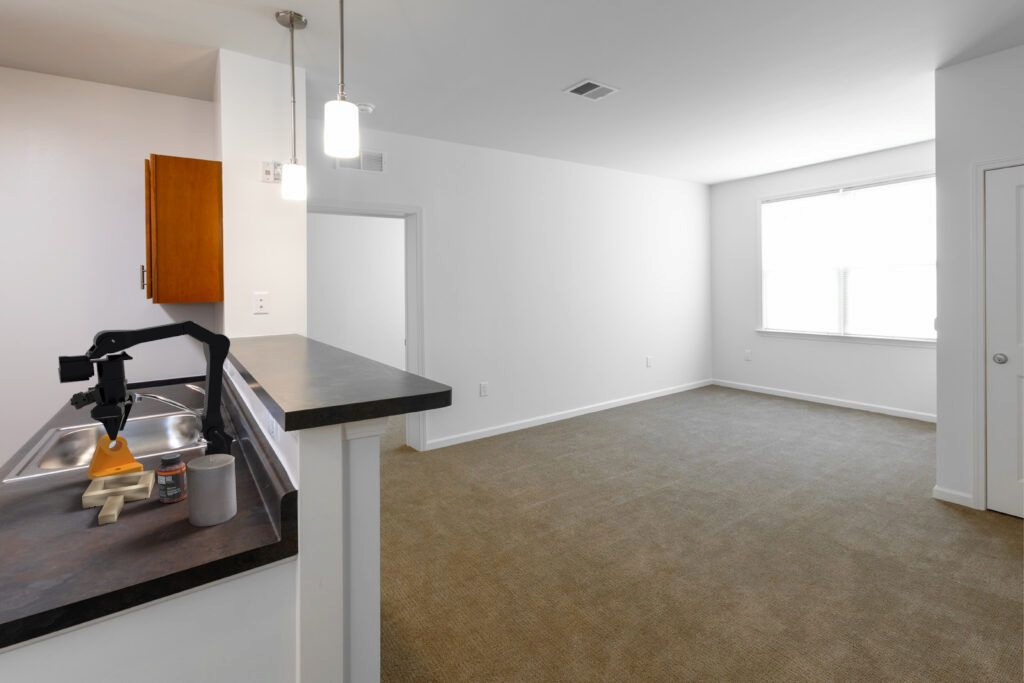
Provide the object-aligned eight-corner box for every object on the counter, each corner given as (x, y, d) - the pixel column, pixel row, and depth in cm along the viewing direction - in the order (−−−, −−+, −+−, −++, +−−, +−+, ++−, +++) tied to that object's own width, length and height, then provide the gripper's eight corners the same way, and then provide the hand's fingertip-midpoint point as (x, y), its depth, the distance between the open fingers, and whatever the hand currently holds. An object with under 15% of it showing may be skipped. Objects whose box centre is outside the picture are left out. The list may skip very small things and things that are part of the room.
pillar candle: (184, 516, 118) (180, 454, 116) (230, 503, 125) (227, 445, 123) (195, 531, 111) (191, 466, 109) (243, 517, 118) (240, 456, 116)
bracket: (98, 486, 134) (94, 443, 133) (88, 480, 138) (84, 438, 137) (144, 474, 143) (141, 433, 142) (134, 469, 147) (131, 429, 146)
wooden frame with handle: (155, 480, 139) (154, 469, 138) (142, 517, 117) (141, 504, 117) (95, 489, 132) (94, 478, 132) (70, 529, 111) (68, 516, 110)
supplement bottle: (182, 492, 131) (180, 450, 130) (191, 498, 128) (188, 455, 126) (156, 499, 127) (153, 456, 126) (164, 506, 123) (161, 461, 122)
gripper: (82, 374, 137) (88, 430, 139) (60, 387, 121) (67, 450, 122) (132, 371, 142) (137, 424, 144) (118, 383, 126) (124, 443, 128)
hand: (117, 435), depth 134 cm, fingers open, 9 cm apart
